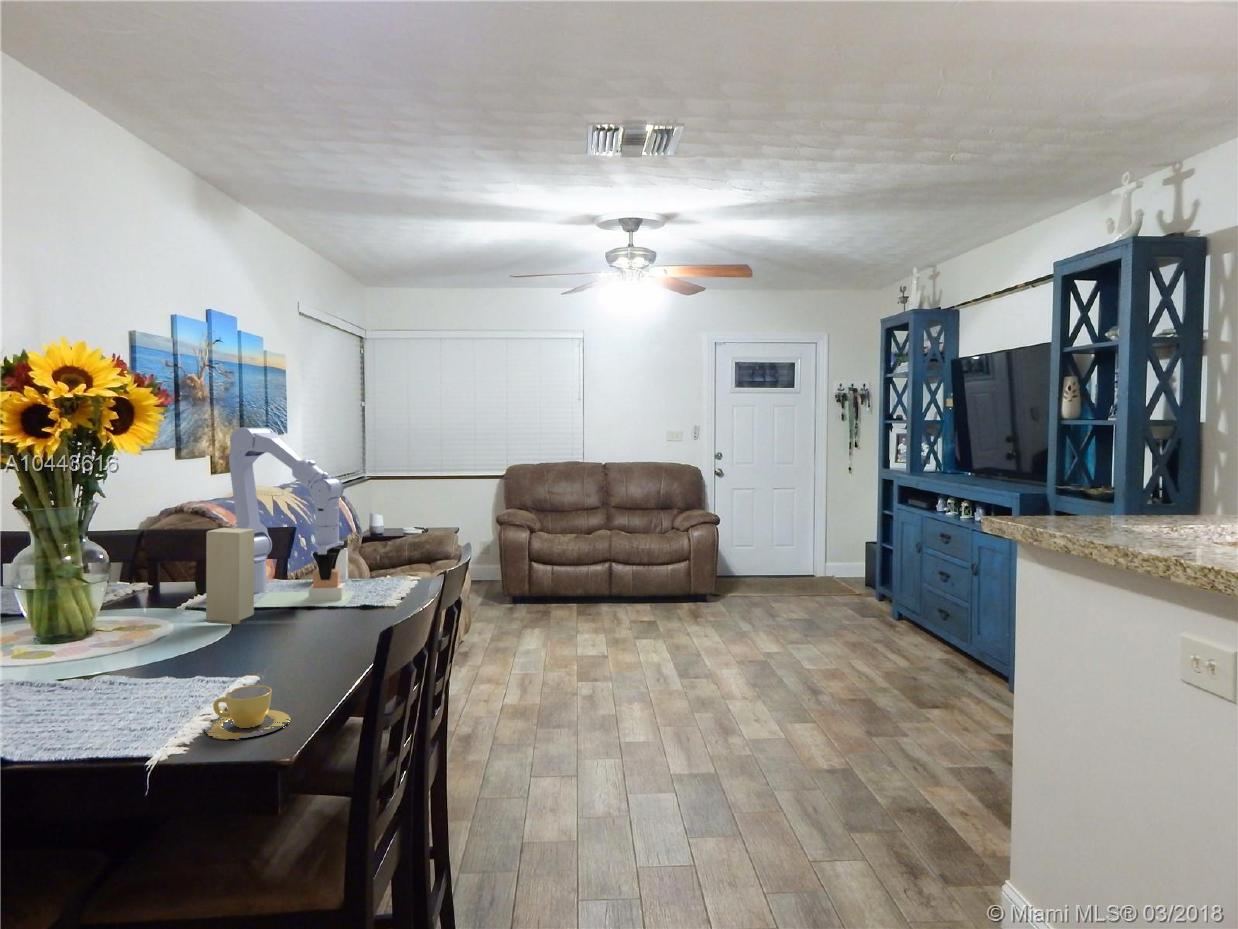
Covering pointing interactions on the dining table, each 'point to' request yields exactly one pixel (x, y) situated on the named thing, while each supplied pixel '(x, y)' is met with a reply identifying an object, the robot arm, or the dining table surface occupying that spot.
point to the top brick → (332, 582)
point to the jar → (342, 559)
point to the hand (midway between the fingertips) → (327, 577)
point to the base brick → (327, 593)
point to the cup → (246, 710)
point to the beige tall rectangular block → (229, 575)
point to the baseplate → (298, 600)
